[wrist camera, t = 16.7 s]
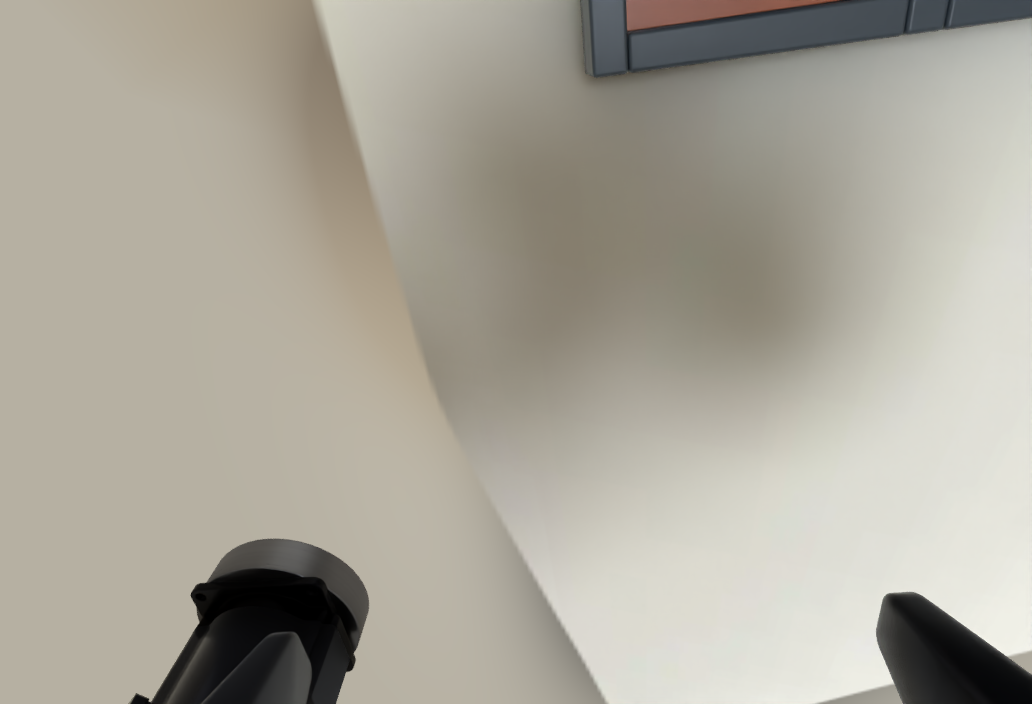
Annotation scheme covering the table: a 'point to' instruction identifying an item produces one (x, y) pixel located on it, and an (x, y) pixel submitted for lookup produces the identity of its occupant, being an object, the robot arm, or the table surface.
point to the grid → (760, 27)
